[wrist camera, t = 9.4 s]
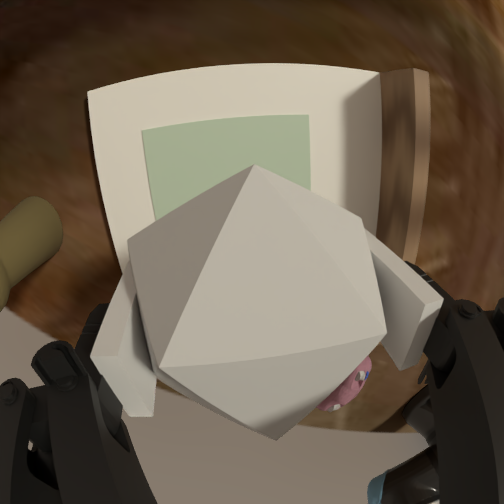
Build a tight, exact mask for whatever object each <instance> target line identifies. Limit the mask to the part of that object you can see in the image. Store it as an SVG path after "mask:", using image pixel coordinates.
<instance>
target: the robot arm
mask: <svg viewBox="0 0 504 504" xmlns="http://www.w3.org/2000/svg"><path fill="white" fill-rule="evenodd" d="M364 230H365V233H366V237H367V241H368V244H369V248H370V252H371V256H372V260H373V265H374V269H375V273H376V278H377V282H378V287H379V292H380V297H381V302H382V307H383V312H384V318H385V323H386V329H387V334H386V335H385V336H384V337H383V339H382V340H381V341H380V342H381V343H382V345H383V346H384V348H385V349H386V351H387V352H388V354H389V355H390V357H391V358H392V360H393V361H394V363H395V364H396V366H397V367H398V369H399V371H401V370H403V369H406V368H409V367H411V366H414V365H416V364H418V362H419V359H420V357H421V355H422V353H423V352H424V353H425V354H426V356H427V357H428V358H429V359H428V361H427V363H426V365H425V367H424V369H423V371H422V372H421V374H420V376H419V378H418V384H421V382H422V381H423V379H424V377H425V375H426V376H427V378H426V380H425V384H428V385H427V386H426V387H425V388H424V389H423V390H421V391H420V392H419V393H418V394H417V395H416V396H415V397H414V398H413V399H412V400H411V401H410V402H409V403H408V404H407V406H406V407H405V409H404V410H403V417H404V419H405V421H406V422H407V423H408V424H409V425H410V426H411V427H412V428H414V429H415V430H416V431H417V432H418V433H420V434H421V435H422V436H423V437H424V438H425V439H426V441H427V443H428V445H429V447H428V448H427V449H425V450H424V451H422V452H420V453H419V454H417V455H415V456H414V457H412V458H410V459H409V460H407V461H405V462H403V463H401V464H399V465H397V466H396V467H394V468H392V469H389V470H387V471H385V472H384V473H383V474H381V475H379V476H377V477H375V478H373V479H372V480H371V482H370V483H369V485H368V491H367V495H368V504H504V298H501V299H499V301H498V304H497V306H496V308H495V310H492V311H483V310H482V309H481V307H480V306H478V305H477V304H476V303H474V302H471V301H469V300H463V299H461V300H456V301H455V300H454V299H453V298H452V297H451V296H450V295H449V294H448V293H447V292H446V291H444V290H443V289H442V288H441V287H440V286H439V285H438V284H437V283H436V282H435V281H433V279H431V278H430V277H429V276H428V275H426V273H425V272H424V271H422V270H421V269H420V268H419V267H418V266H416V265H414V264H412V263H410V262H408V261H403V260H402V259H400V258H399V257H398V256H397V255H396V254H395V253H394V252H392V251H391V250H390V249H389V248H388V247H387V246H385V245H384V244H383V243H382V242H381V241H379V240H378V239H377V238H376V237H375V236H373V235H372V234H371V233H370V232H369V231H367V230H366V229H365V228H364ZM31 366H32V368H33V369H34V370H35V372H36V373H37V374H38V376H39V377H40V378H41V380H42V381H43V382H44V384H45V385H43V386H39V387H34V388H30V389H29V388H28V387H27V386H26V384H25V383H24V382H23V381H22V380H21V379H18V378H12V379H8V380H7V381H5V382H3V383H2V384H1V385H0V504H157V502H156V500H155V497H154V496H153V493H152V491H151V489H150V487H149V484H148V482H147V480H146V478H145V475H144V473H143V470H142V468H141V465H140V463H139V461H138V458H137V455H136V453H135V450H134V447H133V444H132V442H131V439H130V436H129V433H128V430H127V427H126V425H125V423H124V422H123V420H122V419H121V414H122V408H124V409H125V411H126V412H127V413H128V415H129V416H130V417H153V411H154V399H155V388H156V379H157V376H156V375H155V374H154V372H153V369H152V365H151V361H150V357H149V353H148V348H147V344H146V340H145V335H144V330H143V326H142V321H141V316H140V311H139V305H138V300H137V294H136V290H135V285H134V281H133V277H132V273H131V267H130V260H129V262H128V264H127V266H126V268H125V270H124V272H123V275H122V277H121V279H120V281H119V284H118V286H117V288H116V290H115V293H114V295H113V297H112V300H111V302H110V303H105V304H99V305H98V306H97V307H96V308H95V309H94V310H93V311H92V312H91V313H90V315H89V317H88V319H87V322H86V326H84V328H83V331H82V335H80V338H79V340H78V342H77V345H76V347H75V350H74V349H73V347H72V345H70V344H69V343H68V342H66V341H54V342H51V343H48V344H47V345H44V346H43V347H42V348H41V349H40V350H38V351H37V353H36V354H35V356H34V357H33V359H32V363H31ZM29 441H30V442H32V443H33V447H32V450H29V449H28V443H29Z"/></svg>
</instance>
